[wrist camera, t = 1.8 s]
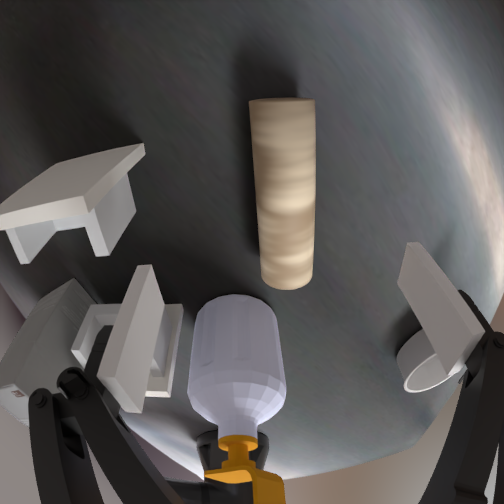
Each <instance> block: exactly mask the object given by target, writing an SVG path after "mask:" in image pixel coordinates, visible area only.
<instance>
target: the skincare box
mask: <svg viewBox="0 0 504 504" xmlns="http://www.w3.org/2000/svg"><path fill="white" fill-rule="evenodd" d="M93 304H96V302H95V301H94V300H93V299H92V298H91V297H90V296H89V294H88V293H87V292H86V291H85V290H84V288H83V287H82V286H81V285H80V284H79V283H78V281H77V280H76V279H75V278H73V279H71V280H70V281H68V282H66V283H65V284H63V285H61V286H60V287H58V288H57V289H55V290H53V291H52V292H50V293H49V294H47V295H46V296H44V297H43V298H41V299H40V300H39V301H38V303H37V304H36V306H35V307H34V309H33V310H32V312H31V313H30V315H29V316H28V318H27V319H26V321H25V322H24V324H23V325H22V327H21V329H20V330H19V332H18V333H17V335H16V336H15V338H14V340H13V341H12V343H11V345H10V347H9V348H8V350H7V352H6V353H5V355H4V357H3V358H2V360H1V362H0V406H1V407H3V408H4V409H5V410H6V411H7V412H9V413H10V414H11V415H12V416H13V417H14V418H16V419H17V420H18V421H20V422H21V423H22V424H24V425H26V426H27V427H29V414H28V401H29V397H30V395H31V394H32V393H33V392H34V391H35V390H36V389H38V388H46V389H48V390H49V391H50V392H51V393H52V394H55V393H60V391H59V390H58V389H57V384H56V382H57V379H58V376H59V375H60V373H61V372H62V371H64V370H65V369H67V368H69V367H79V368H81V369H82V370H83V371H84V368H83V367H82V365H81V364H80V363H79V361H78V360H77V358H76V357H75V356H74V354H73V353H72V351H71V348H72V345H73V343H74V341H75V338H76V336H77V334H78V332H79V329H80V327H81V325H82V323H83V320H84V318H85V316H86V314H87V312H88V310H89V308H90V306H91V305H93Z"/></svg>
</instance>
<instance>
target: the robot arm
mask: <svg viewBox="0 0 504 504" xmlns="http://www.w3.org/2000/svg"><path fill="white" fill-rule="evenodd" d="M397 284H398V286H399V288H400V289H401V291H402V293H403V294H404V296H405V298H406V299H407V301H408V303H409V305H410V306H411V308H412V310H413V312H414V313H415V315H416V317H417V319H418V320H419V322H420V324H421V326H422V328H423V330H424V331H425V333H426V335H427V337H428V339H429V341H430V343H431V345H432V347H433V349H434V350H435V352H436V354H437V356H438V358H439V360H440V362H441V364H442V366H443V368H444V371H445V373H446V375H447V376H448V375H451V374H454V373H457V372H460V370H461V369H462V367H463V366H464V364H466V366H467V368H468V369H467V370H466V372H465V373H464V374H463V376H462V377H461V379H460V380H459V382H458V383H459V384H460V383H461V381H462V380H463V379H464V380H463V384H462V389H461V392H460V396H459V400H458V404H457V407H456V411H455V414H454V417H453V421H452V424H451V427H450V430H449V433H448V436H447V439H446V442H445V444H444V447H443V450H442V453H441V455H440V458H439V460H438V463H437V465H436V468H435V470H434V472H433V475H432V477H431V479H430V482H429V484H428V486H427V488H426V490H425V492H424V494H423V496H422V498H421V500H420V502H419V503H418V504H487V503H488V500H487V497H485V495H484V491H485V488H486V485H487V482H488V479H489V475H490V472H491V469H492V466H493V462H494V458H495V455H496V451H497V447H498V443H499V449H498V451H499V452H498V466H497V476H496V485H495V494H494V500H493V504H504V334H503V333H501V332H494V331H493V330H492V328H491V327H490V325H489V323H488V322H487V321H486V319H485V318H484V316H483V315H482V313H481V312H480V311H479V309H478V308H477V306H476V305H474V302H473V301H472V299H471V298H470V296H469V295H467V294H466V293H465V292H464V291H462V290H457V289H456V288H455V287H454V285H453V284H452V283H451V281H450V280H449V279H448V277H447V276H446V275H445V274H444V272H443V271H442V270H441V268H440V267H439V266H438V265H437V263H436V262H435V261H434V260H433V258H432V257H431V256H430V255H429V254H428V252H427V251H426V250H425V249H424V247H423V246H422V245H421V244H420V243H419V242H411V243H407V246H406V250H405V254H404V259H403V263H402V267H401V271H400V274H399V278H398V282H397ZM164 306H165V304H164V301H163V298H162V295H161V292H160V289H159V286H158V283H157V280H156V277H155V274H154V271H153V268H152V264H150V265H138V266H137V268H136V270H135V273H134V275H133V278H132V280H131V282H130V285H129V287H128V290H127V292H126V295H125V297H124V300H123V302H122V305H121V307H120V310H119V313H118V315H117V318H116V321H115V323H114V325H104V326H103V328H102V329H101V330H100V331H99V332H98V334H97V336H96V339H95V341H94V345H93V346H92V349H91V352H90V355H89V357H88V360H87V363H86V366H85V369H84V371H83V370H82V369H81V368H79V367H69V368H67V369H65V370H64V371H62V372H61V373H60V375H59V376H58V379H57V382H56V384H57V389H58V390H59V391H60V393H55V394H52V393H51V392H50V391H49V390H48V389H46V388H38V389H36V390H35V391H34V392H33V393H32V394H31V395H30V397H29V401H28V414H29V429H30V440H31V448H32V457H33V464H34V470H35V475H36V481H37V486H38V491H39V496H40V500H41V504H104V502H103V499H102V496H101V494H100V490H99V488H98V484H97V481H96V478H95V474H94V471H93V467H92V463H91V460H90V456H89V452H88V448H87V444H86V441H87V443H88V444H89V447H90V449H91V450H92V452H93V454H94V456H95V458H96V460H97V461H98V463H99V465H100V467H101V469H102V470H103V472H104V474H105V476H106V477H107V479H108V480H109V482H110V484H111V485H112V487H113V489H114V490H115V491H116V493H117V495H118V496H119V498H120V499H121V501H122V502H123V504H254V501H253V483H252V481H249V482H242V483H225V482H221V481H218V480H214V479H211V478H207V477H205V476H204V483H203V482H196V481H188V480H180V479H174V478H169V477H163V476H162V475H161V474H160V472H159V471H158V470H157V468H156V467H155V466H154V465H153V463H152V462H151V460H150V459H149V457H148V456H147V455H146V453H145V452H144V451H143V449H142V448H141V446H140V445H139V443H138V442H137V440H136V439H135V437H134V436H133V434H132V433H131V431H130V430H129V428H128V427H127V425H126V423H125V422H124V420H123V419H122V417H121V416H120V415H119V409H120V406H121V407H122V408H123V410H124V411H125V412H131V413H142V410H143V405H144V399H145V394H146V389H147V383H148V378H149V373H150V368H151V364H152V359H153V354H154V349H155V345H156V340H157V336H158V332H159V327H160V323H161V319H162V315H163V311H164ZM257 438H258V447H257V448H256V449H254V450H251V451H248V456H249V460H252V461H254V462H256V468H257V469H260V470H263V469H264V465H265V462H266V458H267V455H268V451H269V440H268V438H267V437H266V436H265V435H263V434H261V433H258V432H257ZM197 451H198V454H199V457H200V460H201V463H202V466H203V469H204V471H207V470H215V469H222V462H223V461H226V460H228V451H225V450H222V449H220V448H219V446H218V430H217V431H211V432H207V433H204V434H202V435H200V436H199V437H198V438H197Z"/></svg>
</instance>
